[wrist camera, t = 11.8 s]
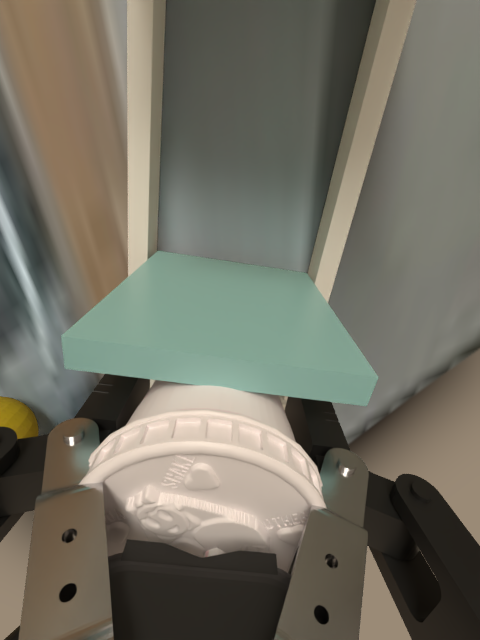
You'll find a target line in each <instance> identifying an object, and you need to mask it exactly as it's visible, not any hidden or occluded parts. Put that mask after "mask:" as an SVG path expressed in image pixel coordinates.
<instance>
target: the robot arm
mask: <svg viewBox="0 0 480 640" xmlns="http://www.w3.org/2000/svg"><path fill="white" fill-rule="evenodd" d="M149 389H150V379H144V378H136V377H128V376H120V375H112V374H105V375H104V376H103V378H102V379H101V380H100V382H99V384H98V385H97V386H96V388H95V389H94V392H92V393H91V395H90V396H89V398H88V399H87V400H86V402H85V403H84V405H83V406H82V408H81V409H80V410H79V412H78V413H77V415H76V416H75V417H74V419H70V420H67V421H64V422H62V423H60V424H59V425H57V426H56V427H55V428H54V429H53V430H52V431H51V432H50V434H48V435H43V436H36V437H29V438H21V439H18V438H17V434H16V432H15V431H14V430H13V429H11V428H8V427H0V542H1V541H2V540H3V538H4V537H5V536H6V535H7V533H8V532H9V531H10V530H11V528H12V527H13V526H14V525H15V523H16V522H17V521H18V520H19V519H20V517H21V516H22V515H23V514H24V512H27V511H32V510H34V518H33V526H32V534H31V543H30V551H29V559H28V567H27V576H26V583H25V591H24V599H23V607H22V615H21V624H20V626H19V627H18V628H16V629H15V630H14V631H13V632H12V633H11V634H10V635H9V636H8V637H6V638H5V639H4V640H359V629H360V618H361V607H362V596H363V586H364V574H365V564H366V553H367V546H369V548H370V550H371V552H372V554H373V556H374V558H375V561H376V562H377V565H378V567H379V569H380V572H381V574H382V576H383V578H384V580H385V582H386V585H387V587H388V589H389V591H390V593H391V595H392V598H393V600H394V602H395V604H396V606H397V608H398V610H399V612H400V615H401V617H402V619H403V621H404V623H405V626H406V628H407V630H408V632H409V634H410V636H411V638H412V640H480V546H479V544H478V543H477V542H476V541H475V539H474V538H473V537H472V536H471V534H470V533H469V531H468V530H467V529H466V527H465V526H464V525H463V523H462V522H461V521H460V519H459V518H458V517H457V515H456V514H455V513H454V511H453V510H452V509H451V508H450V506H449V505H448V503H447V502H446V501H445V500H444V498H443V497H442V496H441V494H440V493H439V492H438V491H437V490H436V488H435V487H434V486H432V485H431V484H430V483H428V482H427V481H426V480H424V479H422V478H420V477H418V476H415V475H411V474H402V475H400V476H398V478H397V479H396V481H395V482H394V481H391V480H388V479H386V478H383V477H381V476H378V475H376V474H373V473H371V472H370V471H368V468H367V466H366V465H365V463H364V462H363V460H362V459H361V458H360V457H359V456H357V455H356V454H354V453H353V452H351V451H350V449H349V446H348V444H347V441H346V438H345V436H344V433H343V431H342V428H341V426H340V423H339V422H338V418H337V415H336V414H335V410H334V408H333V405H332V403H331V402H328V401H320V400H312V399H304V398H296V397H288V399H287V403H286V406H285V414H286V416H287V419H288V421H289V424H290V426H291V429H292V432H293V435H294V438H295V441H296V443H298V444H299V445H300V446H301V447H302V448H303V449H304V451H305V452H306V453H307V454H308V456H309V457H310V458H311V459H312V461H313V462H314V463H315V465H316V466H317V468H318V471H319V474H320V478H321V481H322V484H323V486H322V487H321V488H322V490H321V491H322V495H323V499H324V502H325V505H326V508H327V509H326V508H324V507H320V506H314V505H312V506H311V509H310V511H309V514H308V516H307V518H306V521H305V524H304V527H303V530H302V533H301V536H300V538H299V541H298V544H297V546H296V548H295V550H294V553H293V556H292V558H291V561H290V563H289V566H288V569H287V571H284V570H282V569H280V568H277V558H276V554H273V553H263V552H252V551H242V550H239V551H234V552H229V553H224V554H219V555H214V556H209V557H204V558H202V557H197V556H195V555H192V554H190V553H188V552H185V551H183V550H180V549H178V548H175V547H173V546H171V545H168V544H166V543H160V542H150V541H140V540H129V539H127V541H126V544H125V547H124V550H123V553H118V554H114V555H111V556H108V552H107V538H106V524H105V510H104V496H103V482H100V483H91V484H81V485H79V483H80V482H81V481H82V479H83V478H84V477H85V476H86V474H87V472H88V470H89V468H90V467H91V466H89V464H90V462H89V461H88V460H89V458H90V455H91V454H92V453H93V452H94V450H95V449H96V448H97V447H98V446H99V445H100V444H101V443H102V442H103V441H104V440H105V439H106V438H107V437H108V436H109V435H110V434H112V433H113V432H115V431H117V430H119V429H120V428H122V427H124V426H126V424H127V423H128V421H129V419H130V418H131V416H132V415H133V413H134V411H135V410H136V408H137V407H138V406H139V404H140V403H141V402H142V400H143V399H144V397H145V395H146V394H147V392H148V391H149ZM420 551H421V552H420ZM422 554H423V555H422ZM423 556H424V557H423ZM424 558H425V559H424ZM426 561H427V562H426ZM427 563H428V564H427ZM429 566H430V567H429ZM430 568H431V569H430ZM432 571H433V572H432ZM433 573H434V574H433ZM435 576H436V577H435ZM436 578H437V579H436ZM437 580H438V581H437Z"/></svg>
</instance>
